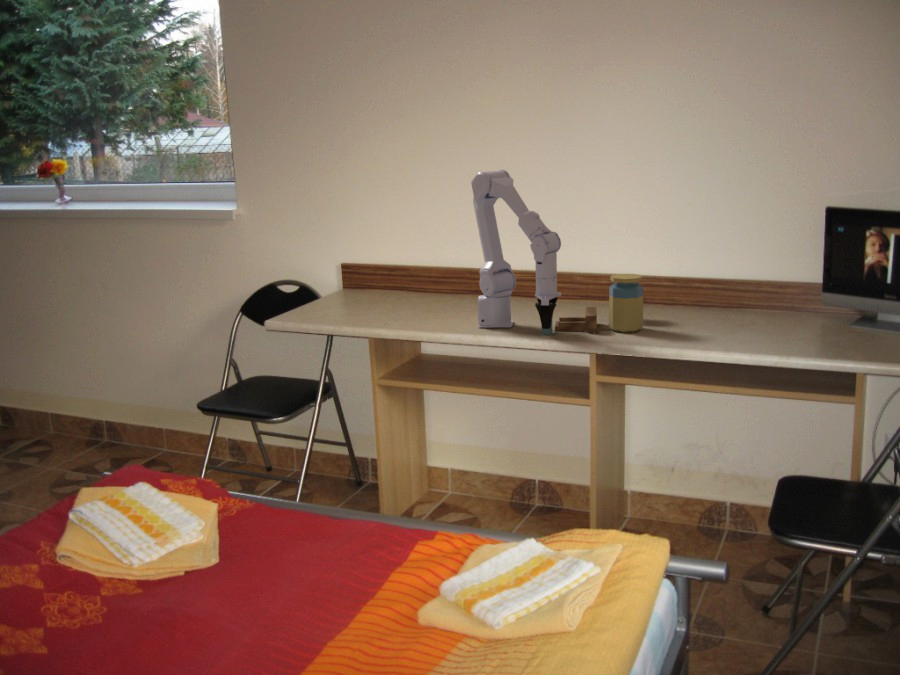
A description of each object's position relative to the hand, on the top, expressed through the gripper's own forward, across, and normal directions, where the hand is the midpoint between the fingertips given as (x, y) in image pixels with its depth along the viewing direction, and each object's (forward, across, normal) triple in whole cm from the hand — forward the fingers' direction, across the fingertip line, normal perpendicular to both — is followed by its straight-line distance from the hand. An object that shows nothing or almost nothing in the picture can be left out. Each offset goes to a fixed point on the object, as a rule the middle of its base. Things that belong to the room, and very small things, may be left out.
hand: (546, 326), depth 257 cm
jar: (+2, +5, -22) cm, 22 cm away
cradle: (+2, +7, -8) cm, 11 cm away
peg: (+2, 0, 0) cm, 2 cm away
